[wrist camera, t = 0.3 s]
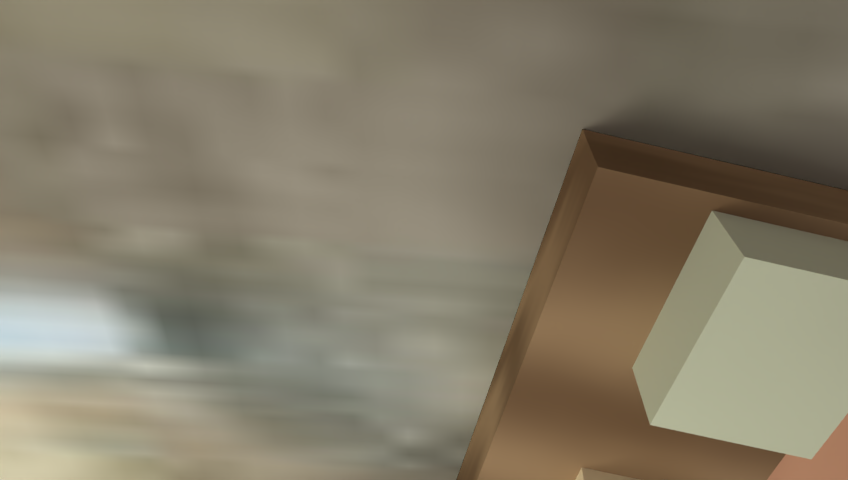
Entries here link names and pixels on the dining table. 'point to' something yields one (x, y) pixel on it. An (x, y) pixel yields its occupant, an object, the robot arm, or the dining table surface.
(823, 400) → the sage tile
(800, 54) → the dining table surface
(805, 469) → the terracotta mat
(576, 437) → the walnut board
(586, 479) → the maple tile
